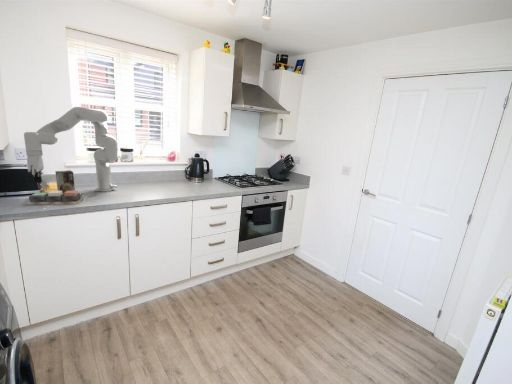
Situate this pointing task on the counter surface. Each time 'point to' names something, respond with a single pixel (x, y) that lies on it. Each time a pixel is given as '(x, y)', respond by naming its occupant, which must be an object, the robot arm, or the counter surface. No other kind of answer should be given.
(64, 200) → the button panel
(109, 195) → the counter surface
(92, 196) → the counter surface
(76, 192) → the terracotta button
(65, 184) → the coffee box
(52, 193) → the cream button
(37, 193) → the sage button
